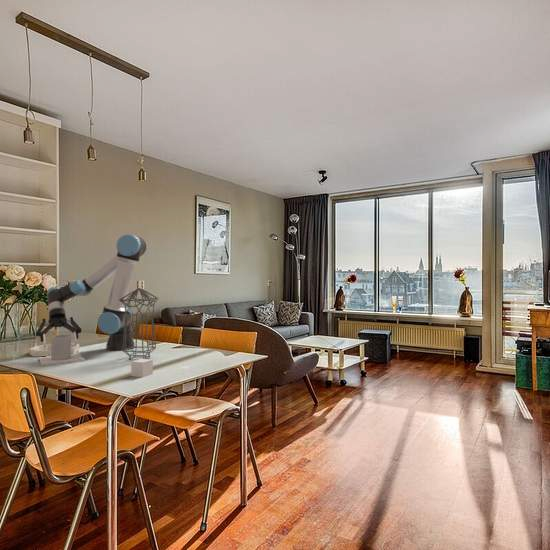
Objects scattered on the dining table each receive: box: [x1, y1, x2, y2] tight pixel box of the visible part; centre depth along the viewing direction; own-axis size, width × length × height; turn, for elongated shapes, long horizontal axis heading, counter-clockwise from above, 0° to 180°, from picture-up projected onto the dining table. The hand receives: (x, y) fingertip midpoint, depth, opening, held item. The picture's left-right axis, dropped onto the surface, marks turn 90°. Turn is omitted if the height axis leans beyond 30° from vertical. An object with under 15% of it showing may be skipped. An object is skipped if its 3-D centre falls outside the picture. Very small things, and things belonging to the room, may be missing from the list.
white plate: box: [29, 342, 80, 357], centre depth 221 cm, size 23×23×3 cm
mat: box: [38, 352, 85, 366], centre depth 200 cm, size 18×18×1 cm
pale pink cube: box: [130, 358, 154, 378], centre depth 168 cm, size 6×6×6 cm
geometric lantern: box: [119, 287, 160, 361], centre depth 202 cm, size 16×16×35 cm
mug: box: [50, 334, 72, 360], centre depth 199 cm, size 12×8×11 cm
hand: (60, 345), depth 200 cm, fingers open, 13 cm apart
